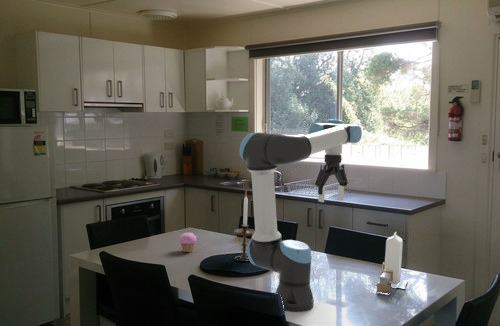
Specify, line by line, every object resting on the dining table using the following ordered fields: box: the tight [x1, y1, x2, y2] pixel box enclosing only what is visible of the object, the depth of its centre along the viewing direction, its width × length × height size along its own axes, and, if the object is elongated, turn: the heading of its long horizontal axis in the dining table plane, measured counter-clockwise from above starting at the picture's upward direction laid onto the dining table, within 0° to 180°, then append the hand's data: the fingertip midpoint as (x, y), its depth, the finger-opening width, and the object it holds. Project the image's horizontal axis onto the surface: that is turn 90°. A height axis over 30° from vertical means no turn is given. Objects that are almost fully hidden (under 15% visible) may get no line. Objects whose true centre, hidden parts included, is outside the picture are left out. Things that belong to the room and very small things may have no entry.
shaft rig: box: [376, 261, 394, 294], centre depth 213 cm, size 34×12×8 cm, turn 158°
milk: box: [384, 231, 403, 284], centre depth 212 cm, size 6×6×22 cm
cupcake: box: [178, 232, 197, 253], centre depth 252 cm, size 9×9×10 cm
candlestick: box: [233, 190, 255, 261], centre depth 240 cm, size 11×11×35 cm
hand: (331, 200), depth 222 cm, fingers open, 13 cm apart
